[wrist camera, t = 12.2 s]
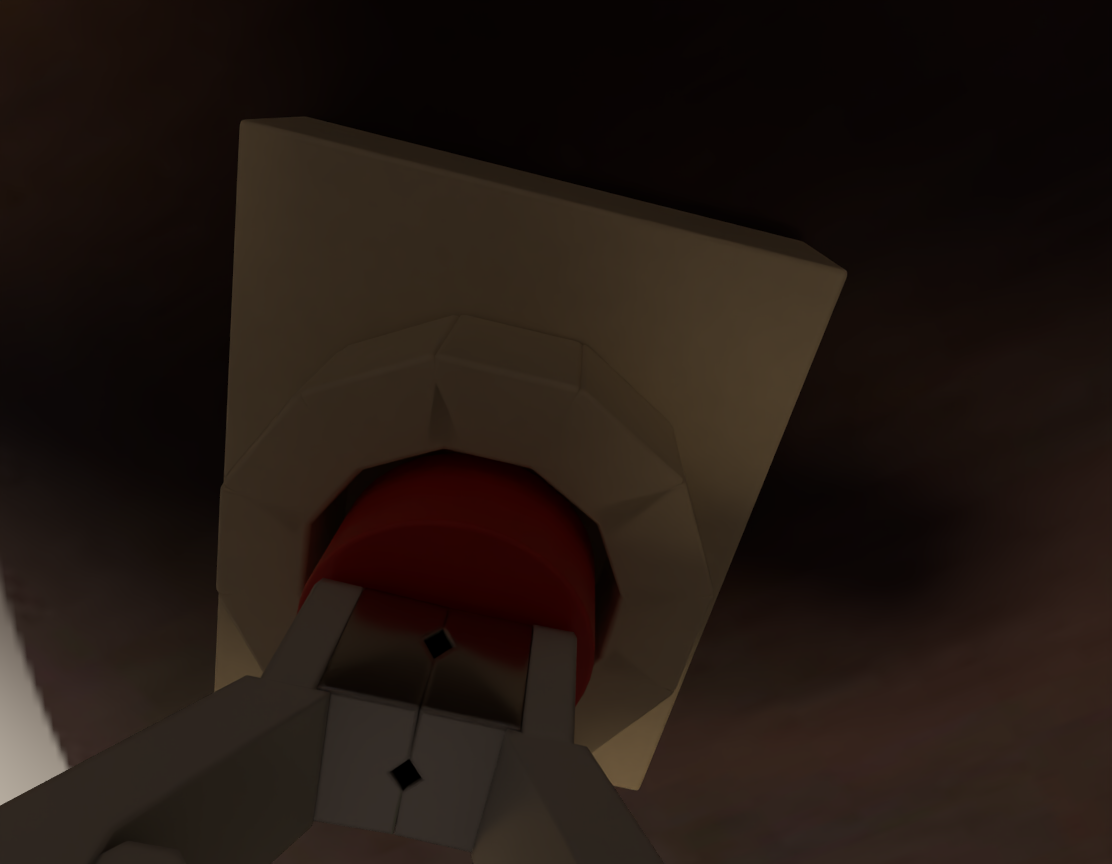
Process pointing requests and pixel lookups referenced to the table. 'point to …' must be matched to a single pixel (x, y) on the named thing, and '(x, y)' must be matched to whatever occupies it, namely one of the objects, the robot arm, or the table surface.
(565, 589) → the button
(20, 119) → the table surface
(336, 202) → the button block
